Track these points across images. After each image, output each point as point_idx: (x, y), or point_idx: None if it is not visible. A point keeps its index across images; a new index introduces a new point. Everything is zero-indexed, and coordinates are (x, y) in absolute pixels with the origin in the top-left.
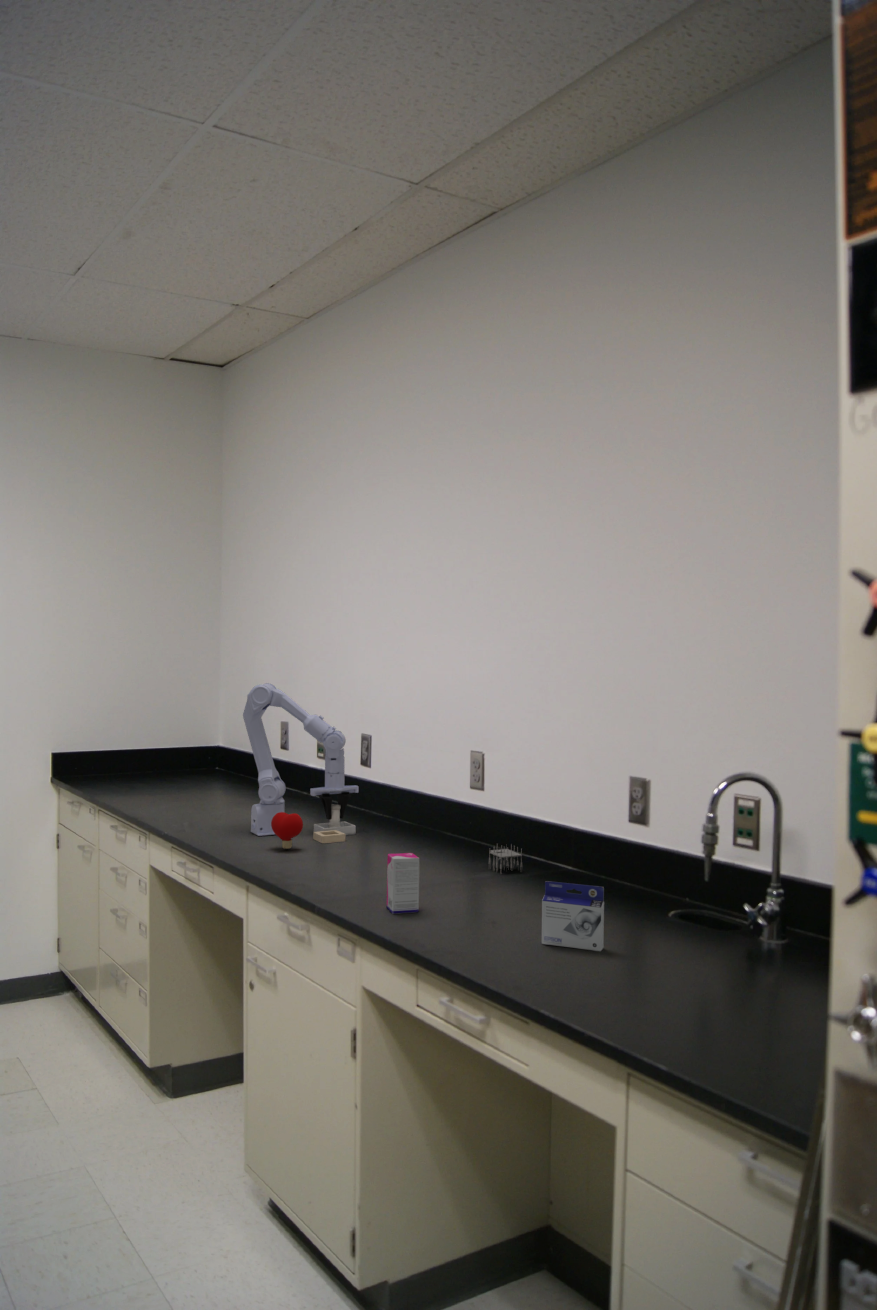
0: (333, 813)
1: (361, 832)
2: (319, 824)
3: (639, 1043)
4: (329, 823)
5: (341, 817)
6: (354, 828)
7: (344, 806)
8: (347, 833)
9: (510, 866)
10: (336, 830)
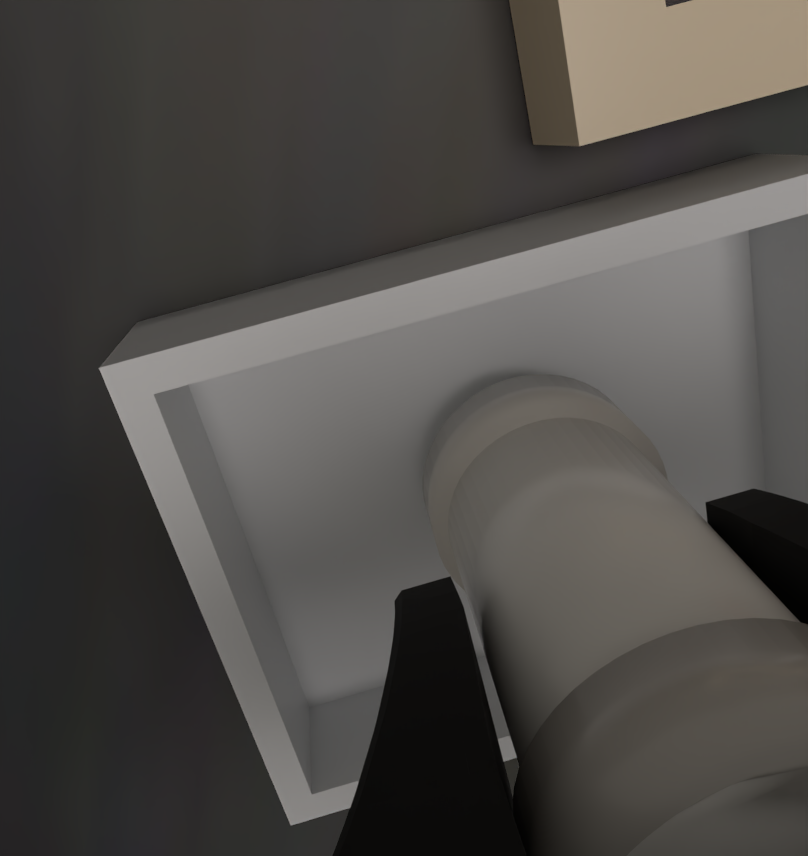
0: (733, 569)
1: (17, 480)
2: None
3: None
4: None
5: (441, 589)
6: (138, 343)
7: (410, 815)
8: (300, 283)
9: None
10: (587, 79)
